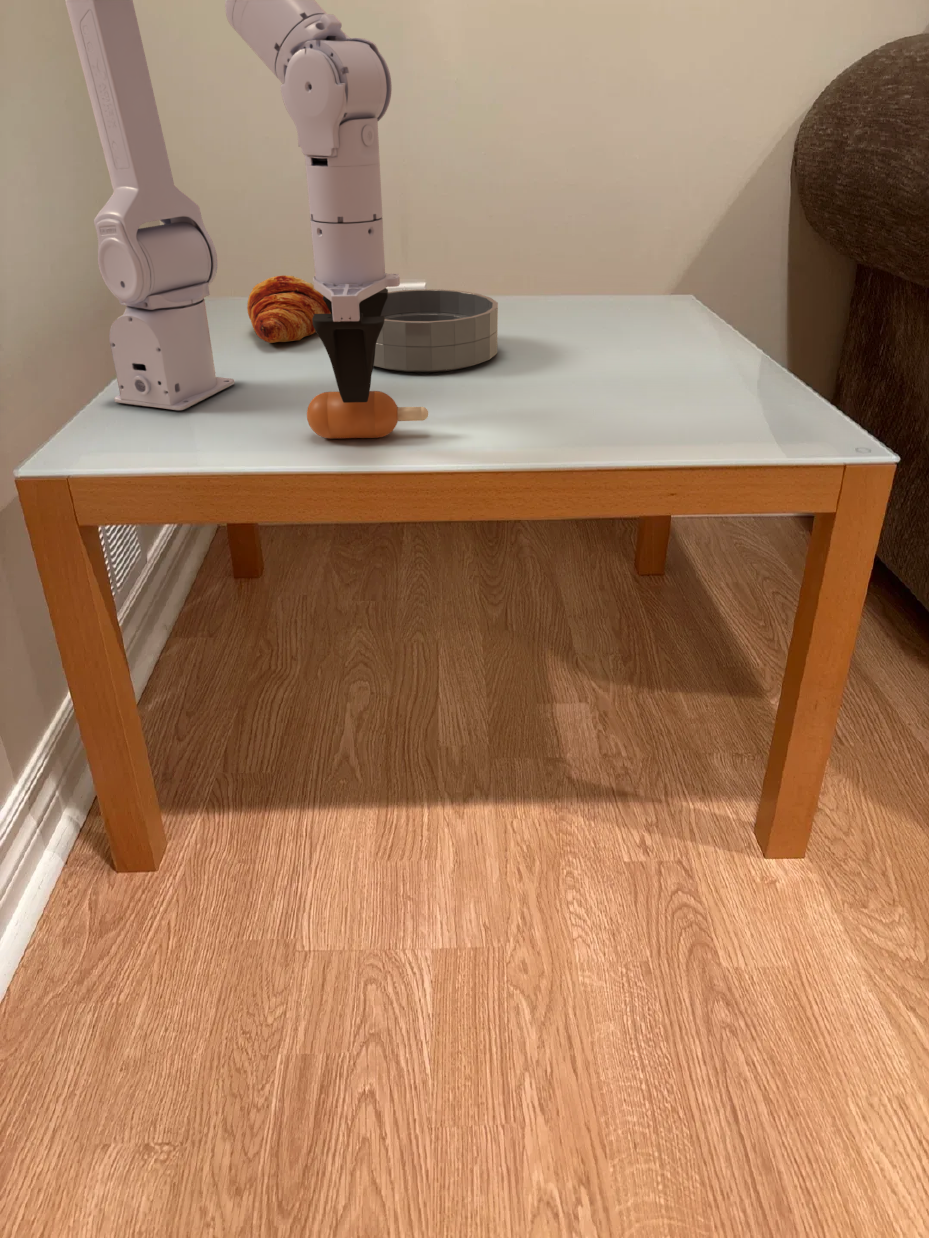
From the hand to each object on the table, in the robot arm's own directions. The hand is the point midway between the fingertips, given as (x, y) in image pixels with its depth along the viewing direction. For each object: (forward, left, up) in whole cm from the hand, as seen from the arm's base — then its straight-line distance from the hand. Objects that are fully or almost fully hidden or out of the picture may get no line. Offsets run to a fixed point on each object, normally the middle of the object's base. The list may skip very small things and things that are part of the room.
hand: (358, 387), depth 80 cm
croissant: (+31, +25, -4) cm, 40 cm away
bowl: (+26, +5, -4) cm, 26 cm away
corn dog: (0, -1, -4) cm, 4 cm away
